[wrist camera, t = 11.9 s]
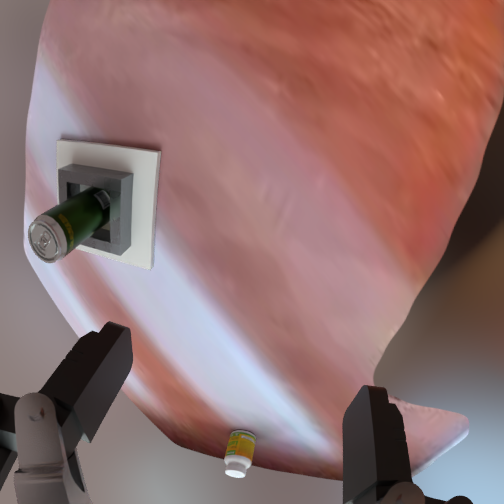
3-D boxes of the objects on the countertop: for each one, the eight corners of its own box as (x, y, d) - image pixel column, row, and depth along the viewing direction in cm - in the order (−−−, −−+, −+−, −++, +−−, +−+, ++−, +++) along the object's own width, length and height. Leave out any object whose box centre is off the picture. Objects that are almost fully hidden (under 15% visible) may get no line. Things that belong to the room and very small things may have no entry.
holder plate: (61, 139, 36) (56, 140, 35) (161, 151, 36) (157, 152, 35) (64, 241, 44) (60, 244, 43) (153, 266, 43) (150, 270, 42)
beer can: (97, 175, 37) (36, 208, 26) (124, 205, 38) (68, 246, 28) (79, 202, 39) (21, 239, 29) (104, 230, 40) (51, 273, 30)
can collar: (71, 163, 37) (58, 169, 34) (133, 173, 36) (121, 179, 34) (73, 230, 41) (61, 238, 39) (131, 245, 41) (120, 256, 38)
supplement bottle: (238, 426, 58) (229, 466, 49) (261, 435, 58) (254, 474, 50) (226, 435, 60) (216, 472, 52) (247, 444, 61) (240, 481, 52)
